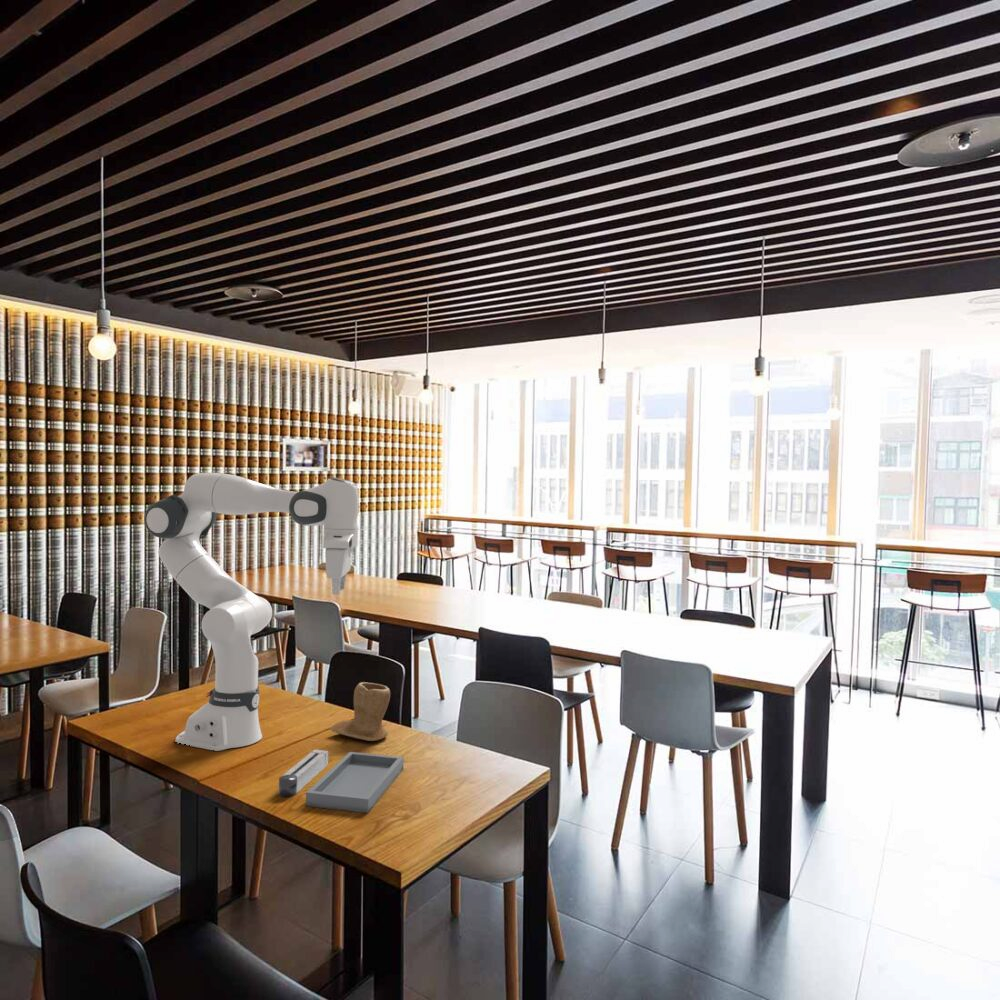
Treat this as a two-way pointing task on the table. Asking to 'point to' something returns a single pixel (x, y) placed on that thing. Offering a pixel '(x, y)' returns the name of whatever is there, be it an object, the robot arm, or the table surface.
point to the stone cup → (366, 713)
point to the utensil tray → (355, 782)
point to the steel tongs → (302, 773)
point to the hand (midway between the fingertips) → (338, 592)
